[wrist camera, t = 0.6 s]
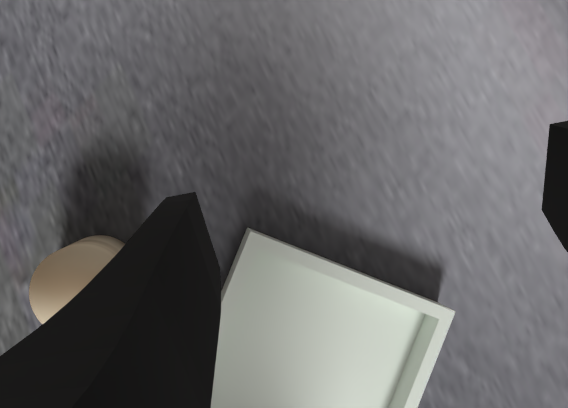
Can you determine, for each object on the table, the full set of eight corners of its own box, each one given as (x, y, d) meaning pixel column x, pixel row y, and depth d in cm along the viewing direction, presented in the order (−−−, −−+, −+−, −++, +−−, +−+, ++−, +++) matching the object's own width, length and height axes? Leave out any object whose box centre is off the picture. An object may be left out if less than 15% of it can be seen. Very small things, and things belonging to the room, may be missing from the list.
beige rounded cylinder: (122, 321, 32) (105, 350, 27) (47, 295, 31) (14, 319, 26) (150, 251, 32) (139, 265, 27) (76, 223, 31) (50, 232, 26)
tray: (338, 551, 35) (348, 580, 32) (140, 492, 33) (134, 517, 30) (437, 302, 35) (455, 311, 33) (247, 227, 33) (250, 230, 30)
